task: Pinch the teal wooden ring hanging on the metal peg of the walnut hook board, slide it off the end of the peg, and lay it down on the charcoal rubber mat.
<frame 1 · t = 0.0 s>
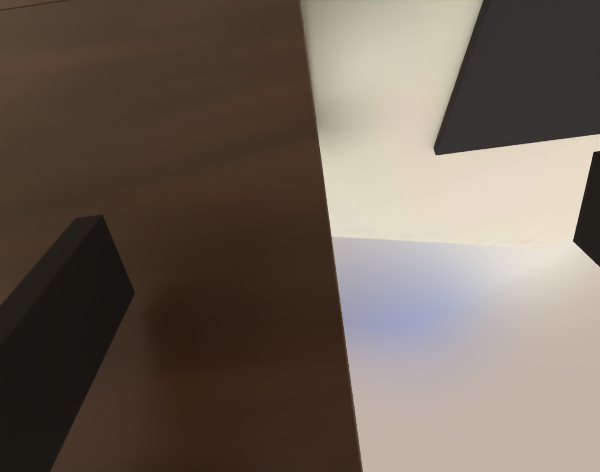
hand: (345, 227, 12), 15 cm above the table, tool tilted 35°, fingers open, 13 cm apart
hook board: (191, 73, 27), on the table
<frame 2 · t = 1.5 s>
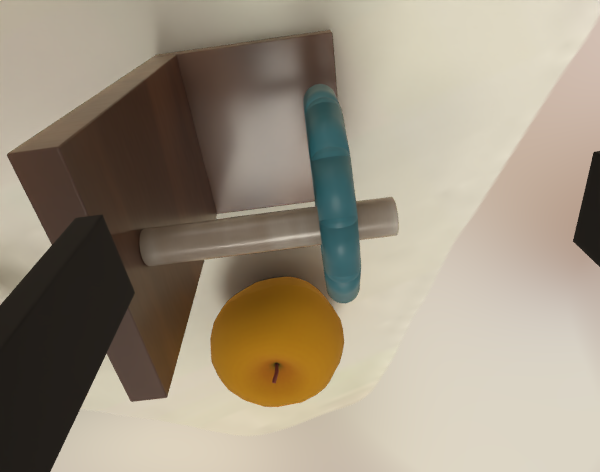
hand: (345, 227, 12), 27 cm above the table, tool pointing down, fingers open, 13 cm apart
hook board: (257, 128, 38), on the table
apple: (279, 297, 48), on the table
ring: (330, 196, 25), point 15 cm above the table, touching hook board
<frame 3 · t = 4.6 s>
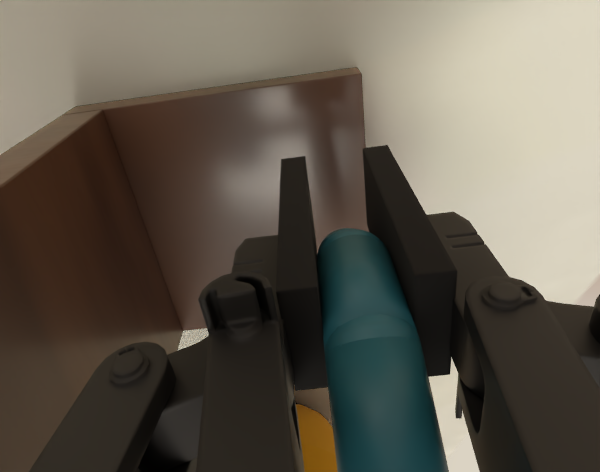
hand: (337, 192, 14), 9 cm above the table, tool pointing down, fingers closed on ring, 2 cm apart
hook board: (242, 212, 25), on the table
apple: (276, 420, 35), on the table
ring: (372, 445, 12), point 15 cm above the table, touching gripper, hook board
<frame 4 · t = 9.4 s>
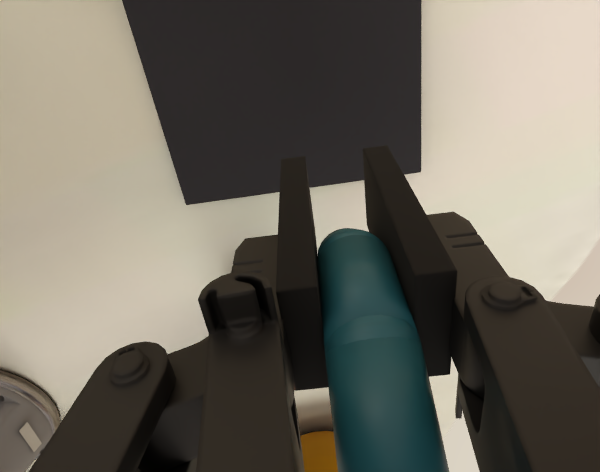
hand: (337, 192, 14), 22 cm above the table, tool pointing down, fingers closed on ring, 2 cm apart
mat: (284, 76, 33), on the table
apple: (317, 440, 56), on the table
ring: (372, 445, 12), point 27 cm above the table, touching gripper
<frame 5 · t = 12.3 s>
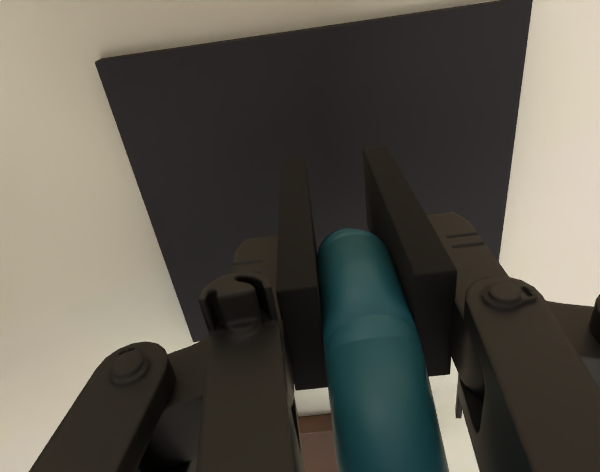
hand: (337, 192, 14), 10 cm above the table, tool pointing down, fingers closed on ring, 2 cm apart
mat: (326, 199, 25), on the table
hook board: (332, 464, 39), on the table
ring: (372, 445, 12), point 15 cm above the table, touching gripper
when the fingers open (1 cm above the table, at t = 14.3 s): ring moves 3 cm, point 6 cm above the table.
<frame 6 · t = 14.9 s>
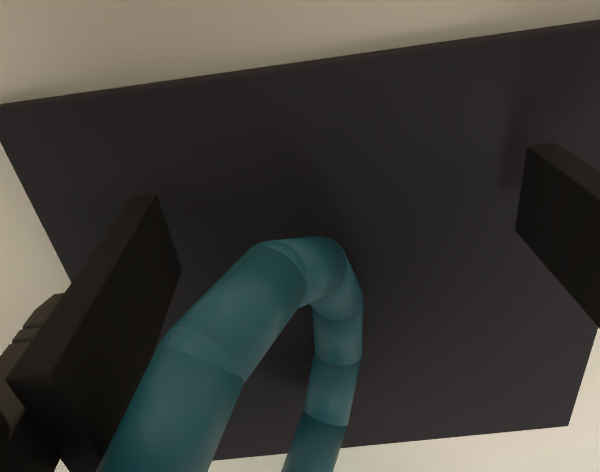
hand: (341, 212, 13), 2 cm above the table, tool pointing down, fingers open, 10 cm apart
mat: (346, 294, 18), on the table
ring: (266, 446, 12), point 6 cm above the table, tilted 29°, touching gripper
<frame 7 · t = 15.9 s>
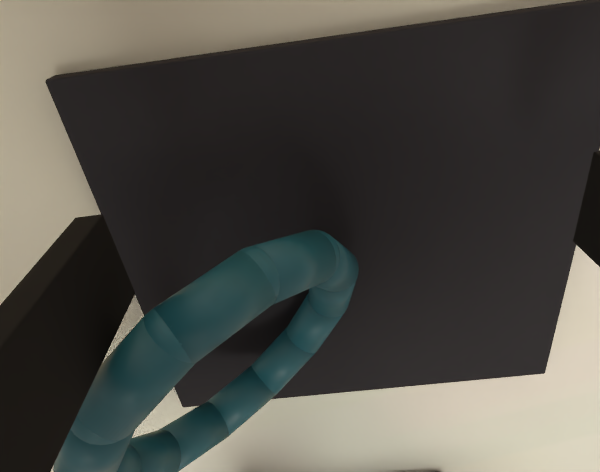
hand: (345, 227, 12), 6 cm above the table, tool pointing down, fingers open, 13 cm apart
mat: (346, 248, 20), on the table
ring: (231, 364, 16), point 6 cm above the table, tilted 53°, touching gripper, mat
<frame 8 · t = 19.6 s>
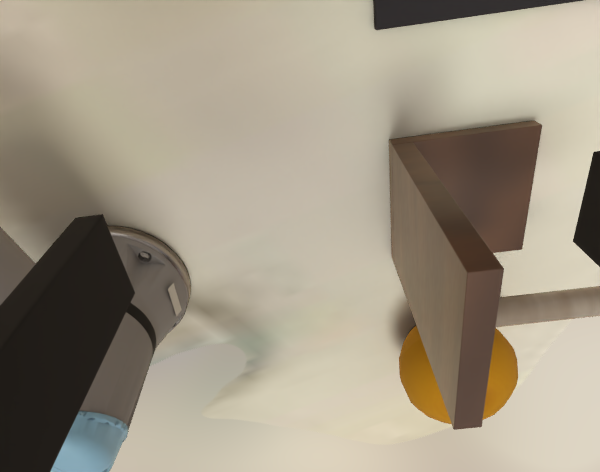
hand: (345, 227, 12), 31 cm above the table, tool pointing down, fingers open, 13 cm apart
hook board: (456, 194, 46), on the table
apple: (440, 327, 56), on the table
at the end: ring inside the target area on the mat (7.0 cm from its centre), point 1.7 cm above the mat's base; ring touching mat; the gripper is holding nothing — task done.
